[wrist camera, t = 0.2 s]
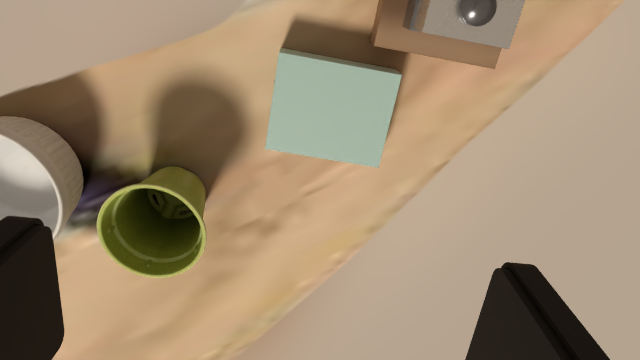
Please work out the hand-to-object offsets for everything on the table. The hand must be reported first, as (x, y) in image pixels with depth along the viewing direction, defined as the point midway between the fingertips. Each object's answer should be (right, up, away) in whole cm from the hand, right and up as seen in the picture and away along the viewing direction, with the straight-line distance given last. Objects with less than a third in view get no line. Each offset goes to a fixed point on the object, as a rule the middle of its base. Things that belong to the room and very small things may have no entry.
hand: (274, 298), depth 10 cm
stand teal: (+2, +10, +35) cm, 36 cm away
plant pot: (-14, +1, +39) cm, 41 cm away
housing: (+12, +17, +29) cm, 36 cm away
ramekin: (-29, +4, +37) cm, 47 cm away
